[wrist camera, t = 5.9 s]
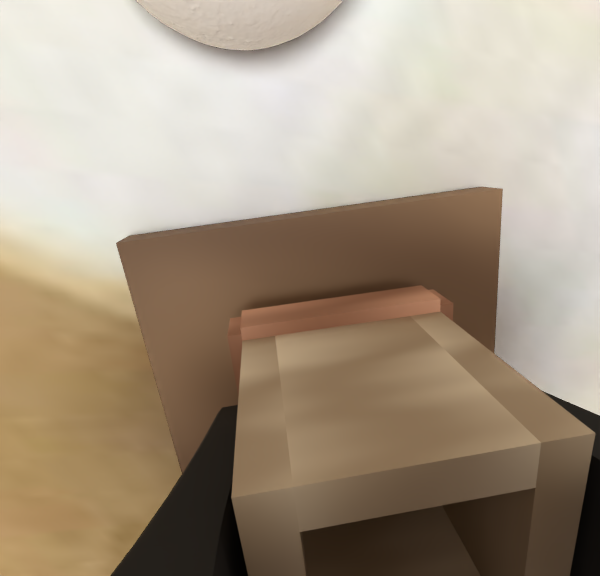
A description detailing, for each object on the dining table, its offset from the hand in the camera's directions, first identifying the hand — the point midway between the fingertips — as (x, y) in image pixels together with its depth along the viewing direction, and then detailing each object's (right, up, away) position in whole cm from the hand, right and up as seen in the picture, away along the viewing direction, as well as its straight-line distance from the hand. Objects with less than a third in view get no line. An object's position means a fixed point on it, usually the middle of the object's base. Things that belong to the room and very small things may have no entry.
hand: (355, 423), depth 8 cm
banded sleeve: (0, 0, +1) cm, 2 cm away
